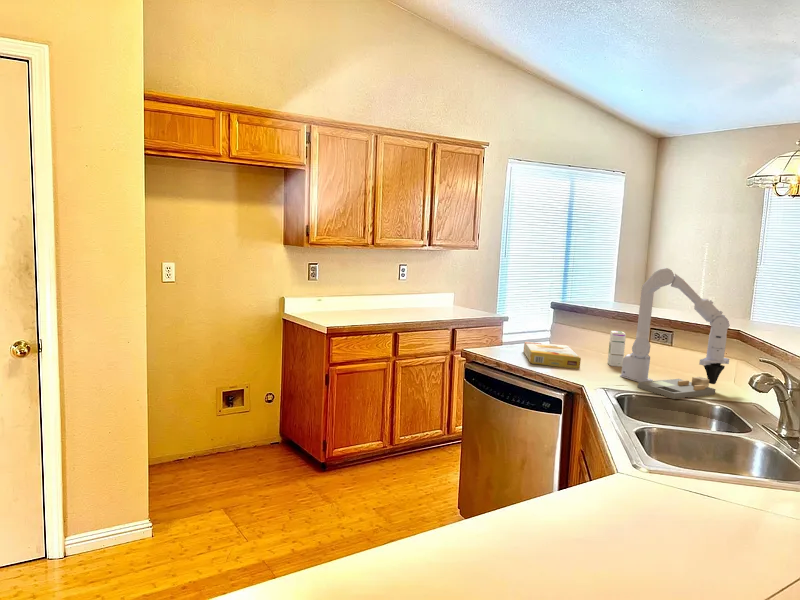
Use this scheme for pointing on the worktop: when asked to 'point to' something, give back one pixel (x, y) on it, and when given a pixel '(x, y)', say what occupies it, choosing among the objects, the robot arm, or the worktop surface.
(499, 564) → the worktop surface
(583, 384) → the worktop surface
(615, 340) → the syrup box
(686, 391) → the board
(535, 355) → the cereal box
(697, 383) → the birch block
